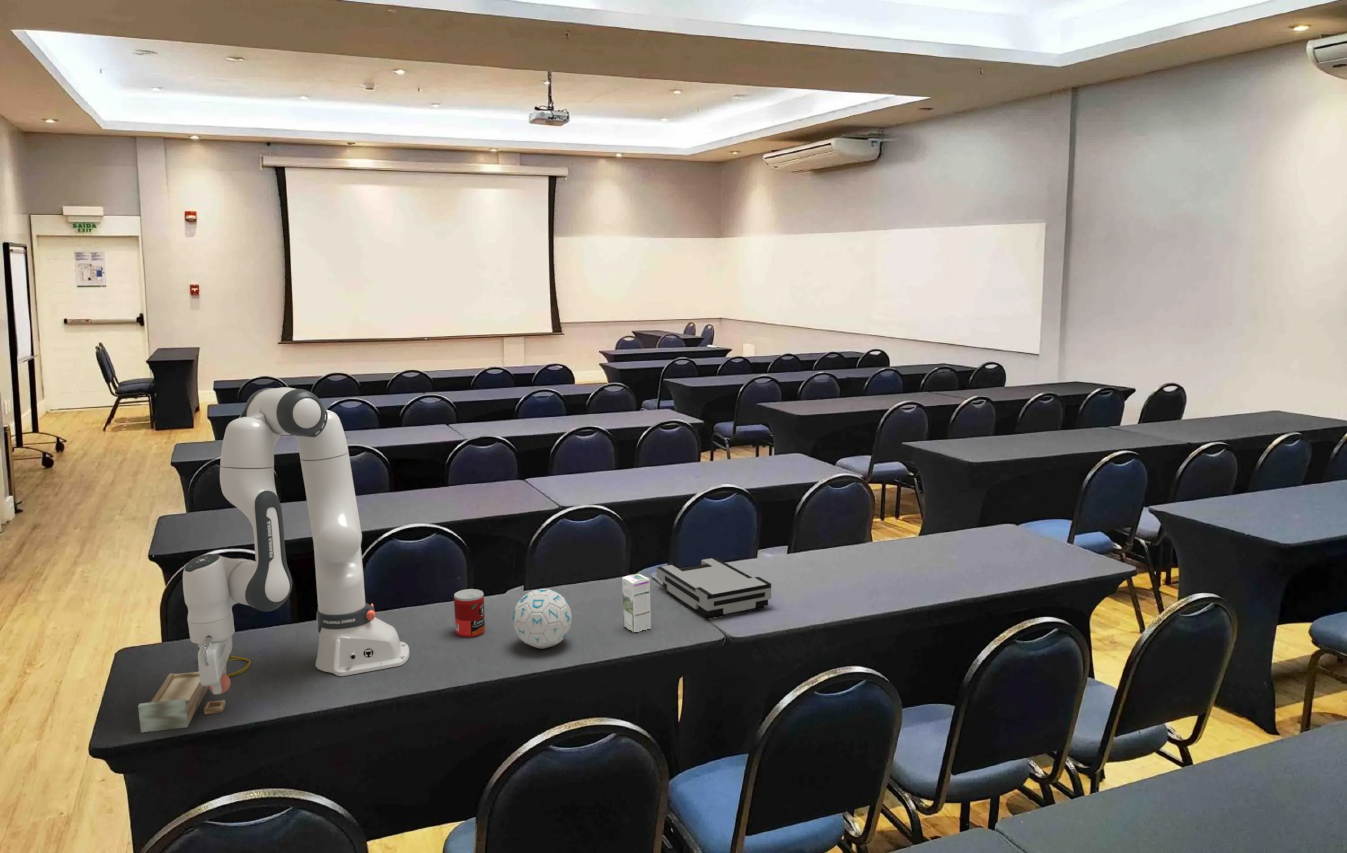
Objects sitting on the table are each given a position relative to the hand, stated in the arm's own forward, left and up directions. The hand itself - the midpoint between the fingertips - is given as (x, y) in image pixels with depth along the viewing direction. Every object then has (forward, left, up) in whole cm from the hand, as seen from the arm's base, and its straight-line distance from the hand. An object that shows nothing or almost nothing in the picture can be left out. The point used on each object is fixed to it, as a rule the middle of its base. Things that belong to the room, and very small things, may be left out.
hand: (220, 687), depth 208 cm
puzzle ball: (-73, -18, -6) cm, 76 cm away
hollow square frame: (+2, -1, -5) cm, 6 cm away
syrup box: (-99, -23, -6) cm, 102 cm away
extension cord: (+5, -26, -6) cm, 27 cm away
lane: (+10, -6, -5) cm, 13 cm away
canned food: (-55, -32, -6) cm, 64 cm away
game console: (-126, -39, -6) cm, 132 cm away
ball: (0, 0, +1) cm, 1 cm away
